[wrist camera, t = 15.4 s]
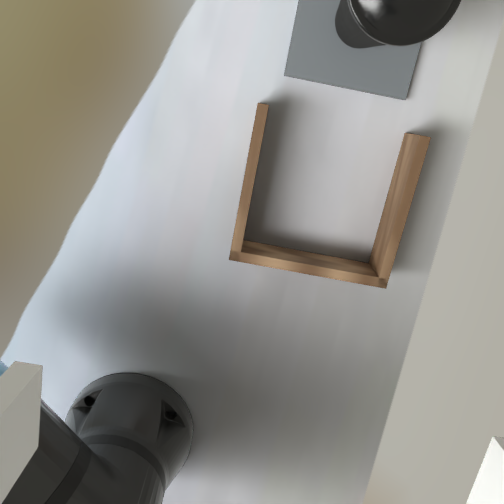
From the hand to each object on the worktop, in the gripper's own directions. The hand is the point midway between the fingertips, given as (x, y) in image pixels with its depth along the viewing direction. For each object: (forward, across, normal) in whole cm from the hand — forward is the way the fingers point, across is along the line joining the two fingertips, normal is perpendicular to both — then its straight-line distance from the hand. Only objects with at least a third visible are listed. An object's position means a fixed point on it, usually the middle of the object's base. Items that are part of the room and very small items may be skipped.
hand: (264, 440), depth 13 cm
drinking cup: (+36, +6, +19) cm, 41 cm away
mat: (+36, +6, +19) cm, 41 cm away
